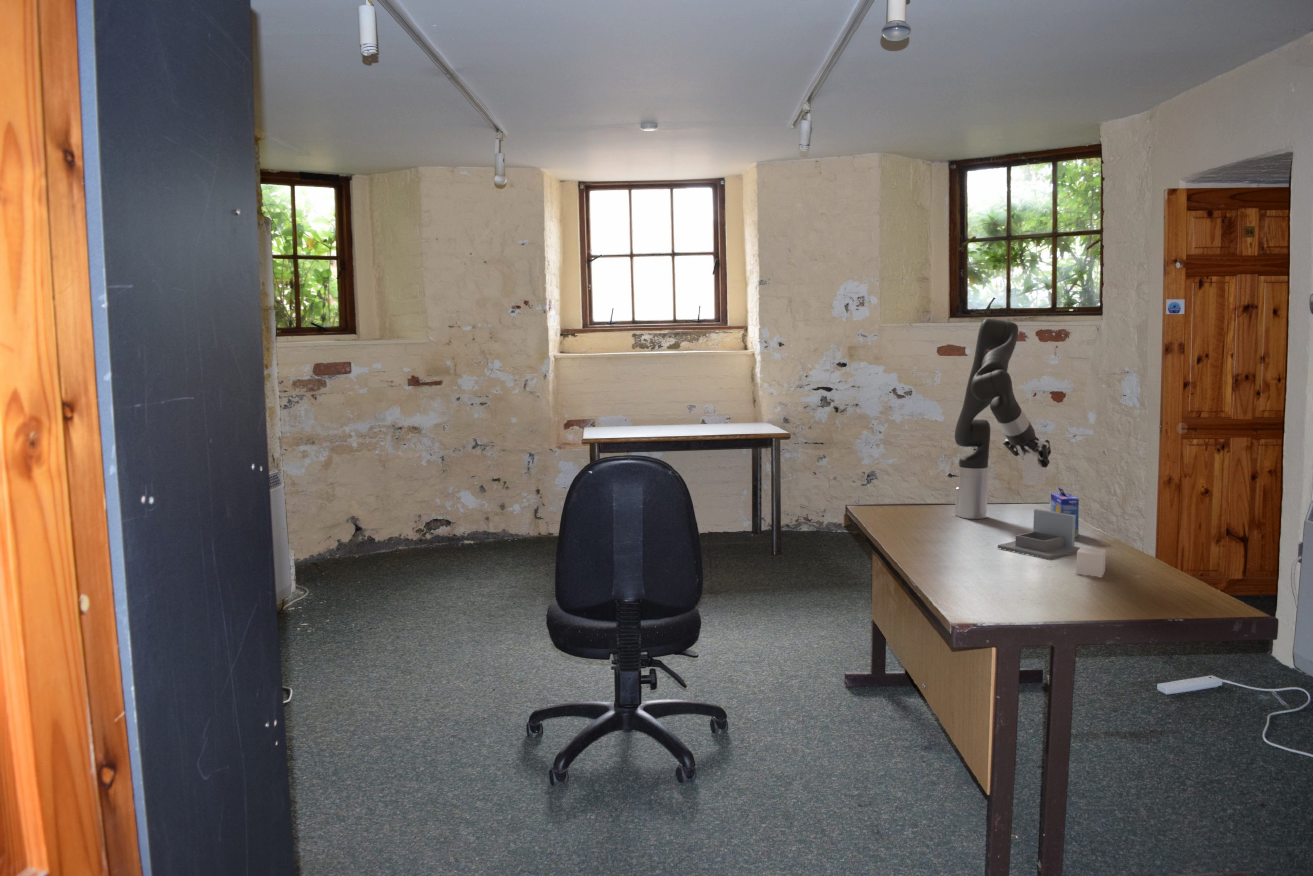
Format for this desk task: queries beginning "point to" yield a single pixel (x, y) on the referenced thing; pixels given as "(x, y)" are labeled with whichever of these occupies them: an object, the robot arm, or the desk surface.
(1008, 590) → the desk surface
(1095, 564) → the white cube
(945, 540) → the desk surface
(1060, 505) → the ink cartridge box
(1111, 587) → the desk surface
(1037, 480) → the tall gray block
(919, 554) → the desk surface
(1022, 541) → the dock
